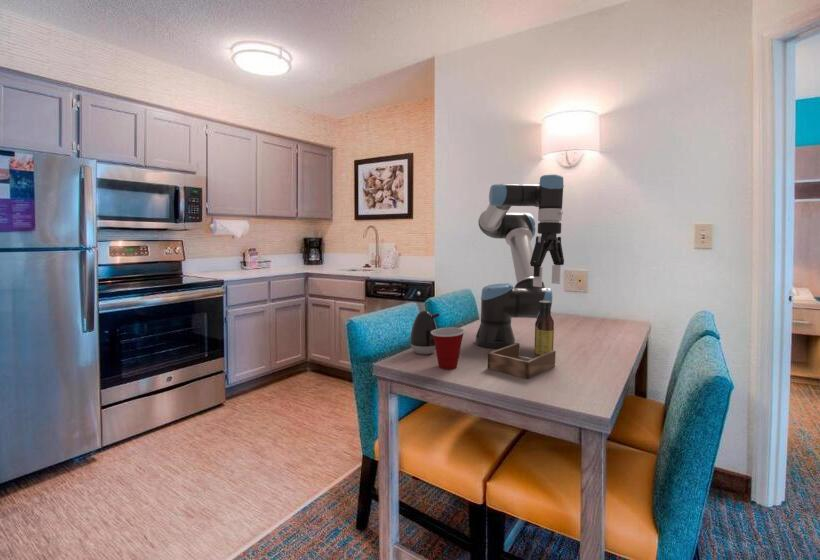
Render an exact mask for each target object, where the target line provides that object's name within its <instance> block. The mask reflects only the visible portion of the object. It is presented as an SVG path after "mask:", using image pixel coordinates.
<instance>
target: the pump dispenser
mask: <svg viewBox="0 0 820 560" xmlns="http://www.w3.org/2000/svg"><path fill="white" fill-rule="evenodd" d="M437 317H440V313H434V314H432V313H431V312H430V311H427V310H422V311H419V312H418V313H417V314H416V316H415V318H414V321H413V323H412V325H411V330H410V338H409V344H410V346H411V348H412V350H413V351H414V353H417V354H418V355H431V354H432V353H434V352H436V348H435V342H434V338H433V336H432V334H431V331H433V330H435V329H438V327H437V324H436V321H435V318H437Z"/></svg>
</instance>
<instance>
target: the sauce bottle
mask: <svg viewBox="0 0 820 560" xmlns="http://www.w3.org/2000/svg"><path fill="white" fill-rule="evenodd" d="M551 304H552V305H553V301H552V302H551V301H539V306H540V308H539V315H538V318H536V320H535V323H534V358H536V357H538V356H540V355H543V354H545V353H548V352H550V351H552V350H554V344H555V343H554V341H555V339H554V338H555V327H554V326H555V321H554V319H553V317H552V315H551V314H552V313H551V310H552V306H551Z"/></svg>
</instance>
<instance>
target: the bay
mask: <svg viewBox="0 0 820 560" xmlns="http://www.w3.org/2000/svg"><path fill="white" fill-rule="evenodd" d="M553 367H556V350H554V349H553V350H552V351H550V352H548V353H545V354H543V355H540V356H538V357H534V358H533V357H532V358H531V357H528V356H523V355H520V343H518V342H515V344H512V345H510V346H507V347H504V348H501V349H494V350H492V351H490V352H487V368H486V369H488V370H492V371H496V372H500V373H504V374H508V375H511V376H515V377H518V378H523V379H526V380H529V379H531V378H533V377H535V376H537V375H539V374H541V373H543V372H545V371H547V370H551V368H553Z"/></svg>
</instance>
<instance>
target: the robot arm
mask: <svg viewBox="0 0 820 560" xmlns="http://www.w3.org/2000/svg"><path fill="white" fill-rule="evenodd" d="M564 187H565V185H564V176H563V175H562V174H555V173H553V174H543V175H541V176H540V177H539V183H538V184H503V183H500V184H499V183H498V184H492V185H491V186H490V188H489V194H488V202H489V205H488V206H487V208H486V210H484V211H482V213H480V216H479V218H478V227H479V229H480V231H481V232H482V234H485V235H486V236H487V237H489V238H493V239H501V240H503V239H504V240H505V242H506V244H507V245H508V246H510V247H509V248H510V252H511V258H512V263H513V268H514V275H515V280H516V284H514V286H513V284H512V283H509V282H508V283H494V284H488V285H485V286H484V287H482V289H481V294H480V295H481V296H480V302H481V303H480V324H479V327H478V329H477V332H476V335H475V341H474V342H475V344H476V346H477V345H478V346H480V347H482V348H489V349H496V350H498V349H501V348H504V347H507V346H510V345H512V344H515V343H516V338H515V333H514V331H513V328H512V318H519V319H522V318H523V319H525V318H526V319H537V318H538V315H539V308H540V306H539V301H551V302H552V304H551V307H552V305H553V291H552V289H551V288H549V287H545V284H544V281H543V266H542V265H543V262H544V261H545V258H546V256H547V253H548V252H549V254H550V257H551V260H552V263H553V264H552V266H551V284H556V285H559V284H561V270H562V269H561V268H562V267H561V266H564V264H565V258H564V253H563V246H562V236H558V235H560V234H562V223H561V221H562V218H563V217H562V215H563V214H564V212H563V199H564ZM511 207H535V208H538V212H537V216H538V217H537V221H538V223H537V234H540V235H541V236H540V235H539V236H538V235H537V236H536V237H535V234H536V221H535V218H534V216H533V215H532V214H531V213H529V212H522V211H521V212H509V210H510V209H511ZM534 237H535V244H534V248H532V247H533V246H532V242H531V241H532V240H533V238H534Z"/></svg>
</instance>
